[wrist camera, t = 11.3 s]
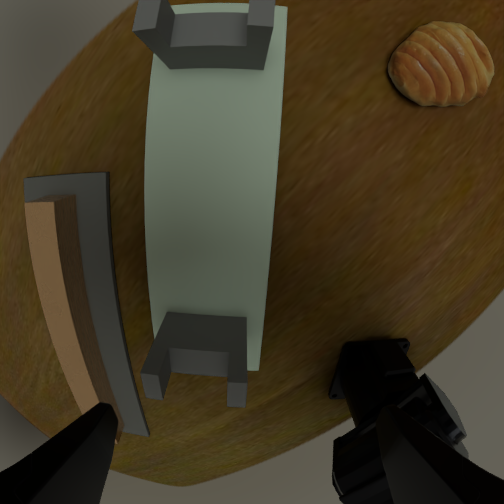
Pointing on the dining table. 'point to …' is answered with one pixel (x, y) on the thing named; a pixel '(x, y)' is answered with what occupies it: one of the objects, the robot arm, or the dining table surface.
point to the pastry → (441, 65)
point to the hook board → (210, 184)
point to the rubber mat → (99, 281)
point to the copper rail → (67, 299)
